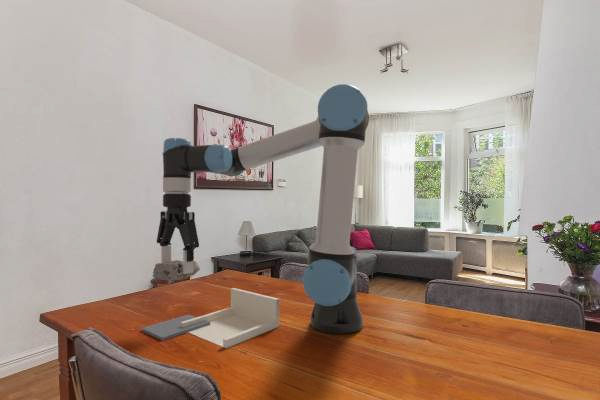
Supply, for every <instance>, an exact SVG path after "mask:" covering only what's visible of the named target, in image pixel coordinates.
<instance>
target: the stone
mask: <svg viewBox="0 0 600 400" xmlns="http://www.w3.org/2000/svg"><path fill="white" fill-rule="evenodd" d="M200 270H201V267H200V266H199V264H198V263H197V261H196V260H195V261H194V260H193V273H188V274H183V260H177V259H176V260H171V262H169V263H161V262H157V263H155V265H154V268H153V271H152V274H153V275H152V278H154V279H158V280H164V281H165V280H167V281H180V280H183V279H185V278H189V277H192V276H193V277H194V276H195V274H197V273H198V272H199V271H200Z"/></svg>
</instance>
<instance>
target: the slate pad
mask: <svg viewBox="0 0 600 400" xmlns="http://www.w3.org/2000/svg"><path fill="white" fill-rule="evenodd" d="M197 317H198V316H195V315H191V314H185V315H183V316H182V315H181V316H178V317H175V318H171V319H168V320H165V321H162V322H161V321H160V322H157V323H154V324H151V325H147V326H144V327H141V332H142V333H144V334H145V333H146V335H150V336H152V337H153V338H156V339H158V340H159V341H165V340H170V339H171V338H174V337H178V336H181V335H184V334H186V333H188V332H190V331H193V330H196V329H199V328H202V327H205V326H208V325H210V322H209V321H206V320H205V321H202V322H199V323H196V324H193V325H189V326H186V327H181V322H183V321H187V320H190V319H193V318H197Z"/></svg>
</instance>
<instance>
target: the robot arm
mask: <svg viewBox="0 0 600 400" xmlns="http://www.w3.org/2000/svg"><path fill="white" fill-rule="evenodd" d="M317 103H318V104H317V117H316V119H315V120H314V121H311V122H308V123H306V124H305V123H304V124H302V125H299V126H296V127H293V128H291V129H288V130H284V131H282V132H278V133H276V134H273V135H270V136H267V137H264V138H261V139H258V140H255V141H252V142H249V143H247V144H244V145H241V146H238V147H236V148H232V149H230V147H229V146H228V145H226V144H217V143H213V144H205V145H204V144H203V145H192V141H191V140H190V139H189V138H188V139H187V138H181V137H169V138H166V139H165V140H164V141H163V152H162V163H163V165H162V166H163V177H162V192H164V194H163V195H162V206H163V207H164V208H167V209H166V211H165V210H164V211H163V210H161V211H160V219H159V227H158V232H157V237H156V244H159V246H160V249H161V251H160V252H161V253H160V254H161V255H160V258H161V259H160V260H161V261H160V263H169V262H171V261H172V243H171V240H172V238H173V235H174V233H175V229H178V231H179V234H180V238H181V240H182V243H183V246H184V247H183V248H182V261H183V274H188V273H193V261H194V259H195V257H194V256H195V249H197V248H199V247H200V242H199V237H198V231H197V225H196V221H195V217H196V215H195V214H196V213H195V212H194V211H190V212H189V211H188V208H190V207H191V205H192V196H191V194H189V193H191V187H192V186H191V185H192V184H191V179H192V173H212V174H219V175H224V176H228V177H237V176H240V175H242V174H243V173H244V172H245V171H248V170H251V169H255V168H257V167H261V166H263V165H266V164H270V163H272V162H276V161H279V160H282V159H286V158H288V157H291V156H295V155H298V154H301V153H305V152H307V151H310V150H313V149H316V148H319V147H323V154H322V155H323V156H322V166H321V177H320V189H319V202H318V210H317V211H318V213H317V225H316V237H315V241H314V242H313V243H312V244H311V245H310V246H309V247H308V249H309V250H308V259H307V267H306V268H305V270H304V273H303V276H302V277H303V278H302V286H303V289H304V292H305V294H306V295H307V297H308V298H309V299H310V300H311V301H312V302H314V304H313V305H314V306H313V309H312V311H311V314H310V325H311V327H312V328H313V329H314V330H317V331H319V332H323V333H327V334H336V335H341V334H342V335H343V334H345V335H346V334H352V333H355V332H358V331H360V330H361V329H362V328H363V327H364V326H363V324H364V323H363V316H362V313H361V308H360V306H359V301H358V299H357V297H358V296H357V291H358V290H357V259H358V255H357V249H356V248H355V247H354V246H351V245H350V241H351V232H352V220H353V219H352V217H353V208H354V197H355V185H356V174H357V163H358V162H357V161H358V151H359V149H361V148H362V147H363V146H364V145H365V140H366V132H367V128H368V126H369V121H370V117H369V111H368V101H367V98H366V96H365V95H364V94H363V93H362V91H361V90H360V89H359V88H357V87H356V86H353V85H351V84H347V83H345V84H344V83H340V84H336V85H334V86H331V87H329V88H328V89H326V91H324V92H323V93H322V95H321V97H320V98H319V100H318V102H317Z"/></svg>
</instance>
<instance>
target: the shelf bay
mask: <svg viewBox="0 0 600 400" xmlns="http://www.w3.org/2000/svg"><path fill="white" fill-rule="evenodd" d="M196 317H197V318H193V319H190V320H187V321H183V322H181V327H186V326H189V325H193V324H196V323H199V322H202V321H205V320H206V321H209V322H210V325H208V326H205V327H202V328H199V329H196V330H193V331H190V332H187V333H188V334H190V335H193V336H195V337H198V338H200V339H202V340H205V341H207V342H210V343H212V344H213V345H217V346H219V347H222V348H224V349H229V348H231V347H234V346H236V345H238V344H241V343H242V342H245V341H248V340H250V339H252V338H254V337H255V338H256V337H258V336H260V335H262V334H265V333H268V332H269V331H272V330H275V329H277V328H279V327H280V298H277V297H273V296H268V295H264V294H261V293H256V292H252V291H249V290H244V289H239V288H235V287H231V288H230V307H227V308H224V309H220V310H217V311H213V312H210V313H206V314H204V315H201V316H196Z"/></svg>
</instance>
